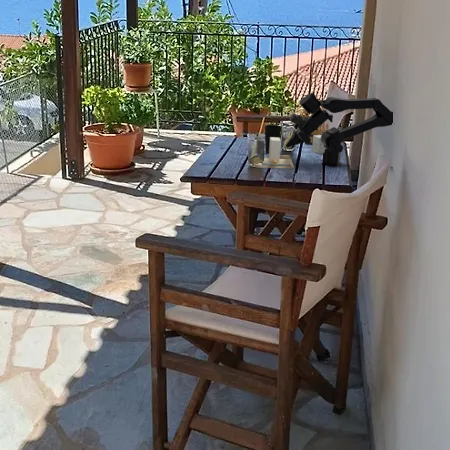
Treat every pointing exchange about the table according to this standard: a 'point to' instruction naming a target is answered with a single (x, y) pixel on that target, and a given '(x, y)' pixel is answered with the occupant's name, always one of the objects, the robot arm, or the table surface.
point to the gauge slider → (274, 149)
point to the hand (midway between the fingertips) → (286, 146)
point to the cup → (271, 134)
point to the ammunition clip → (318, 132)
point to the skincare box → (318, 145)
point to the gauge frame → (283, 163)
